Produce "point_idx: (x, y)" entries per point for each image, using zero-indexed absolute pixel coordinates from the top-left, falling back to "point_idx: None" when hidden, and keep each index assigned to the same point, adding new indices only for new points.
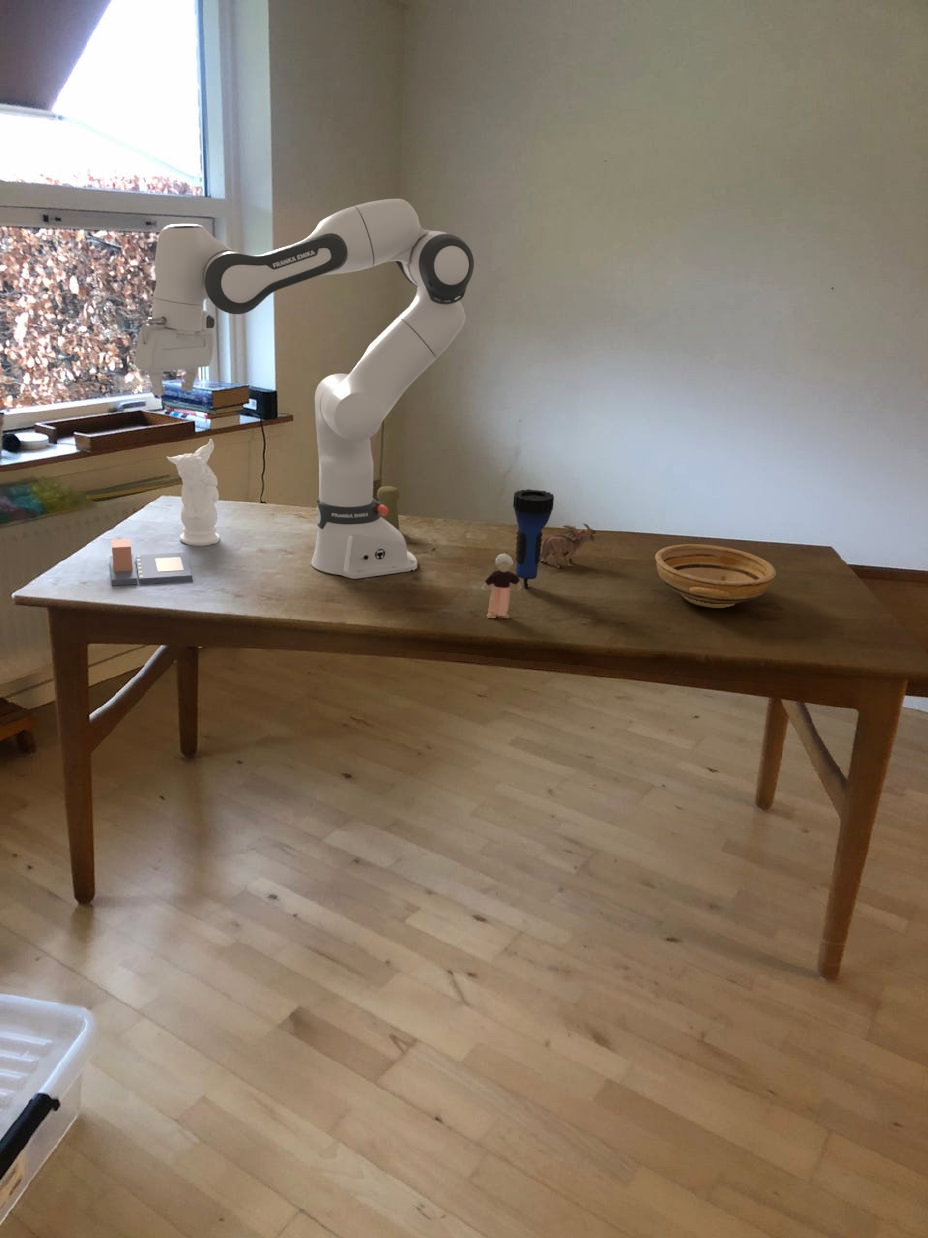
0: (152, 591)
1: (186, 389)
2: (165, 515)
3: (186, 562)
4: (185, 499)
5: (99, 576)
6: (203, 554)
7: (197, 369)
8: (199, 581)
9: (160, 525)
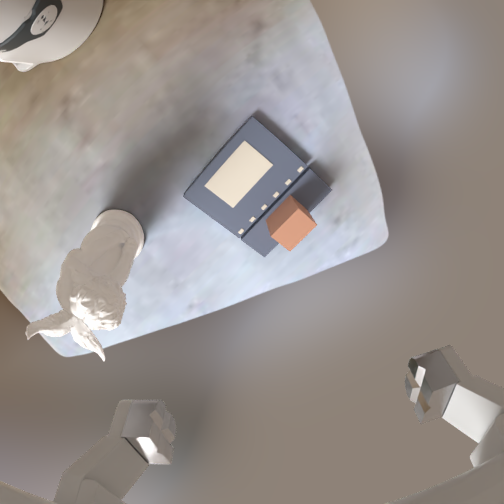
0: (316, 132)
1: (163, 411)
2: None
3: (215, 162)
4: (126, 270)
5: None
6: (155, 186)
7: (64, 492)
8: (246, 106)
9: None
